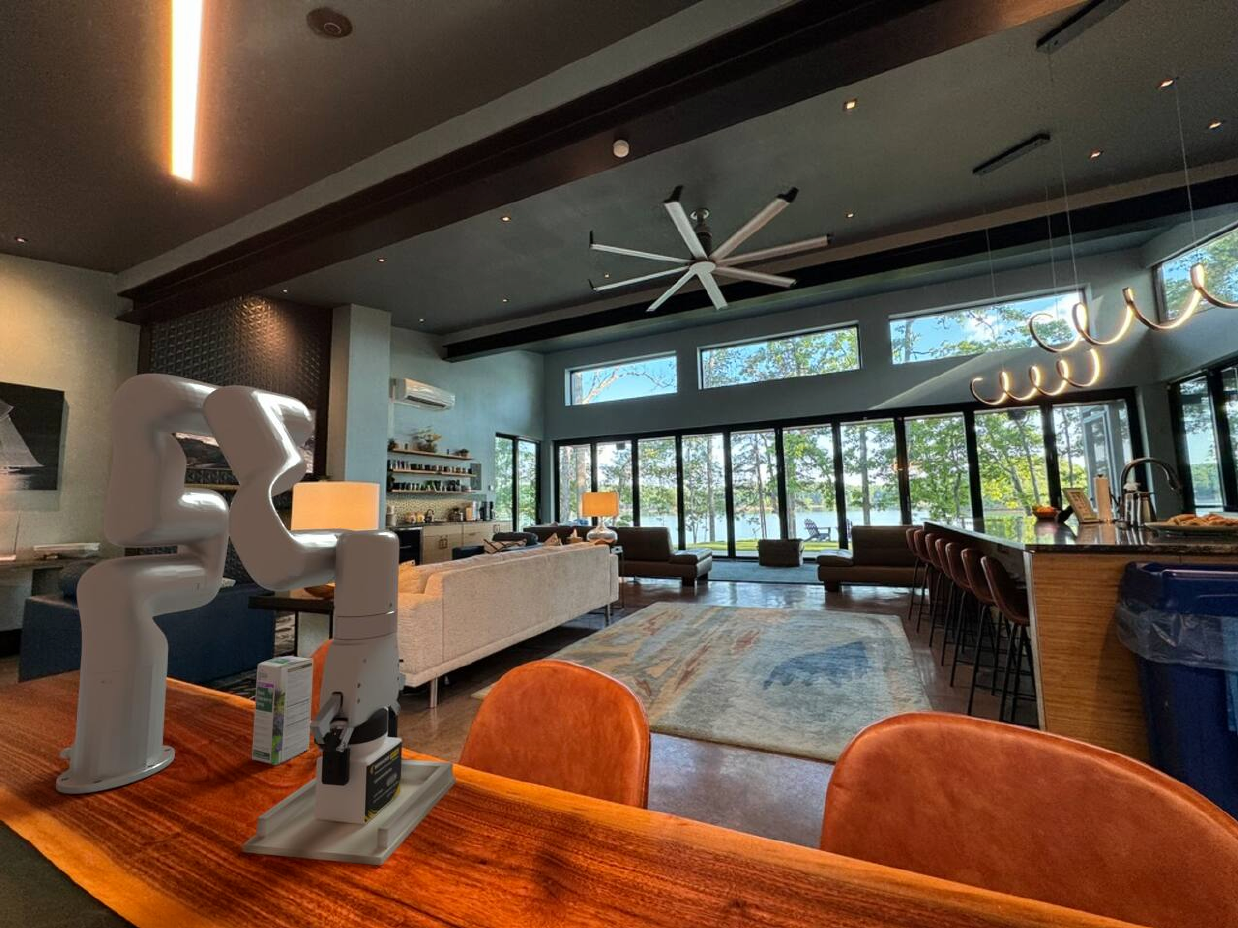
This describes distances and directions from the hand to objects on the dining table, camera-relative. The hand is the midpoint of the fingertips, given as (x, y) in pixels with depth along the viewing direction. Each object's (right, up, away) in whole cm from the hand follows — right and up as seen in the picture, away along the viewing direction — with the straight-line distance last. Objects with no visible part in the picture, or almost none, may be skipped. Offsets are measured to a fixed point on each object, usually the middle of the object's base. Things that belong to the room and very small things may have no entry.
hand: (362, 763), depth 65 cm
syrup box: (-21, -8, +16) cm, 27 cm away
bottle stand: (0, -6, -1) cm, 6 cm away
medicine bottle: (0, -5, 0) cm, 5 cm away
